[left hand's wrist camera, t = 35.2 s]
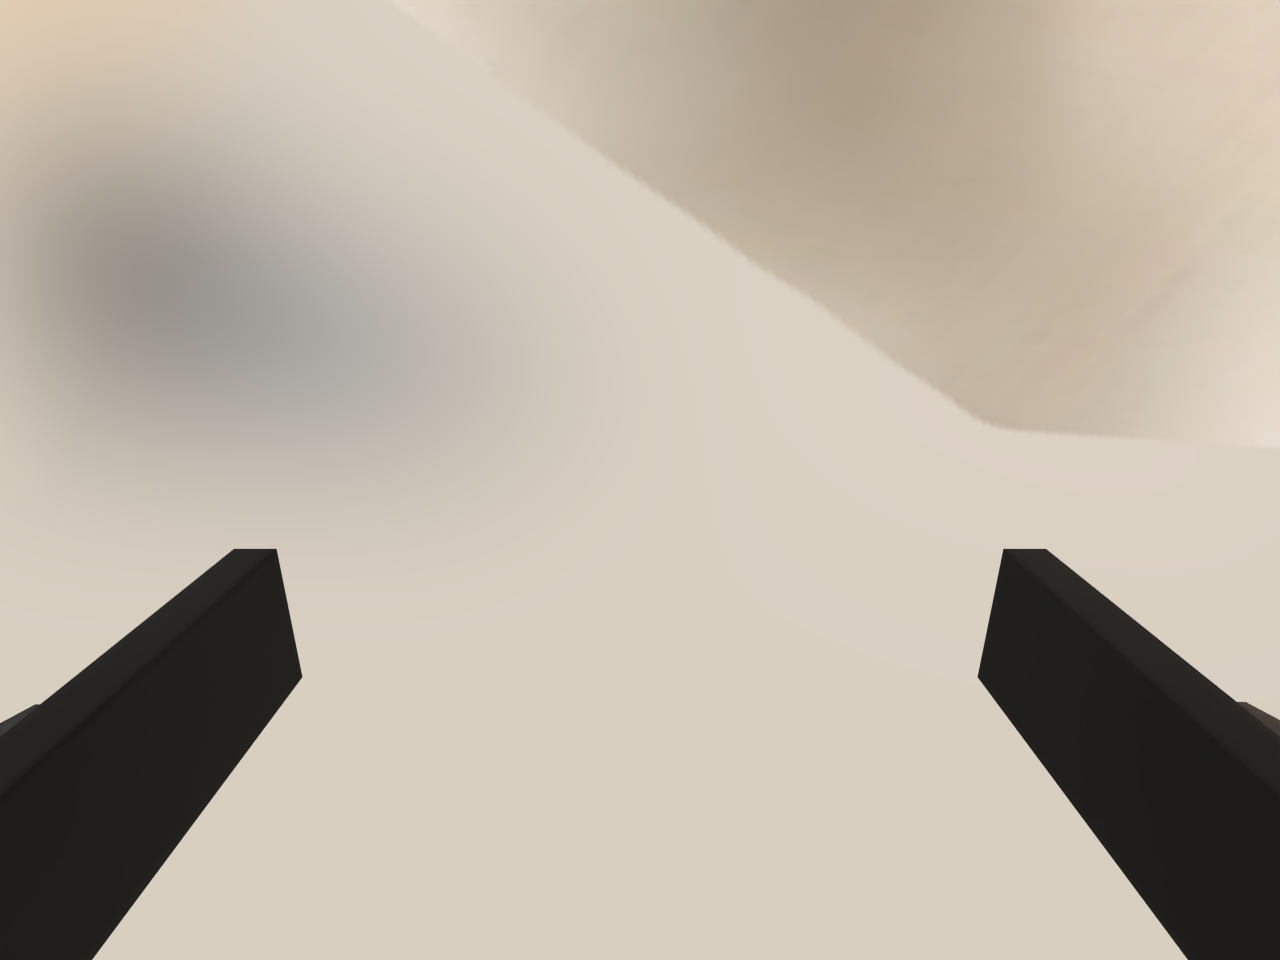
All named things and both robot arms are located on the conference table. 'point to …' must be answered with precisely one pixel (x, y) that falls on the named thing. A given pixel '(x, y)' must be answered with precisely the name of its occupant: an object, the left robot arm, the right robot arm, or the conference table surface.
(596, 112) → the conference table surface
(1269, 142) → the conference table surface
